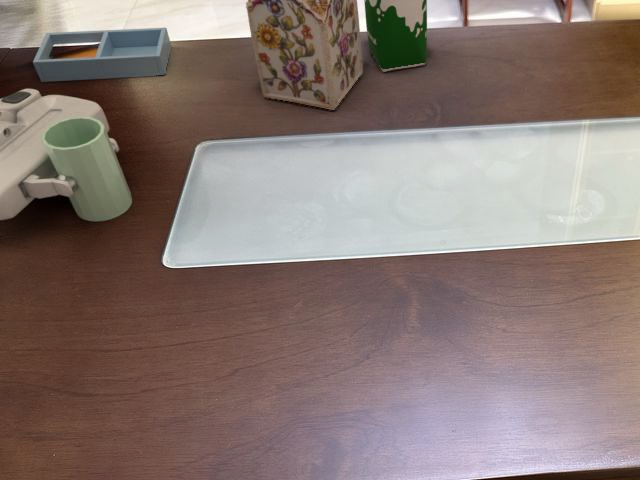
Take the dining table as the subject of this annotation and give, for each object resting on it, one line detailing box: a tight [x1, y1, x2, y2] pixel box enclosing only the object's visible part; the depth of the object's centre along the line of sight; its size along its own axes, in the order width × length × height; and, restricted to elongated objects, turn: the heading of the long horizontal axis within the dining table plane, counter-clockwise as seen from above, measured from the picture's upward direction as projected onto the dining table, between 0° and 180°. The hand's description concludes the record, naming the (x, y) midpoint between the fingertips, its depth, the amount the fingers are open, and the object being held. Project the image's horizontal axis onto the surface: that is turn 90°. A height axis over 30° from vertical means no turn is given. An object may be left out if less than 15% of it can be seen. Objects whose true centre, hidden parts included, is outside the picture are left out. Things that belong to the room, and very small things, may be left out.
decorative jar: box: [245, 0, 364, 109], centre depth 101 cm, size 12×12×18 cm
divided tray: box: [32, 27, 173, 83], centre depth 110 cm, size 18×9×3 cm, turn 99°
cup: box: [41, 117, 133, 222], centre depth 85 cm, size 7×7×10 cm
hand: (94, 167), depth 84 cm, fingers closed on cup, 7 cm apart
